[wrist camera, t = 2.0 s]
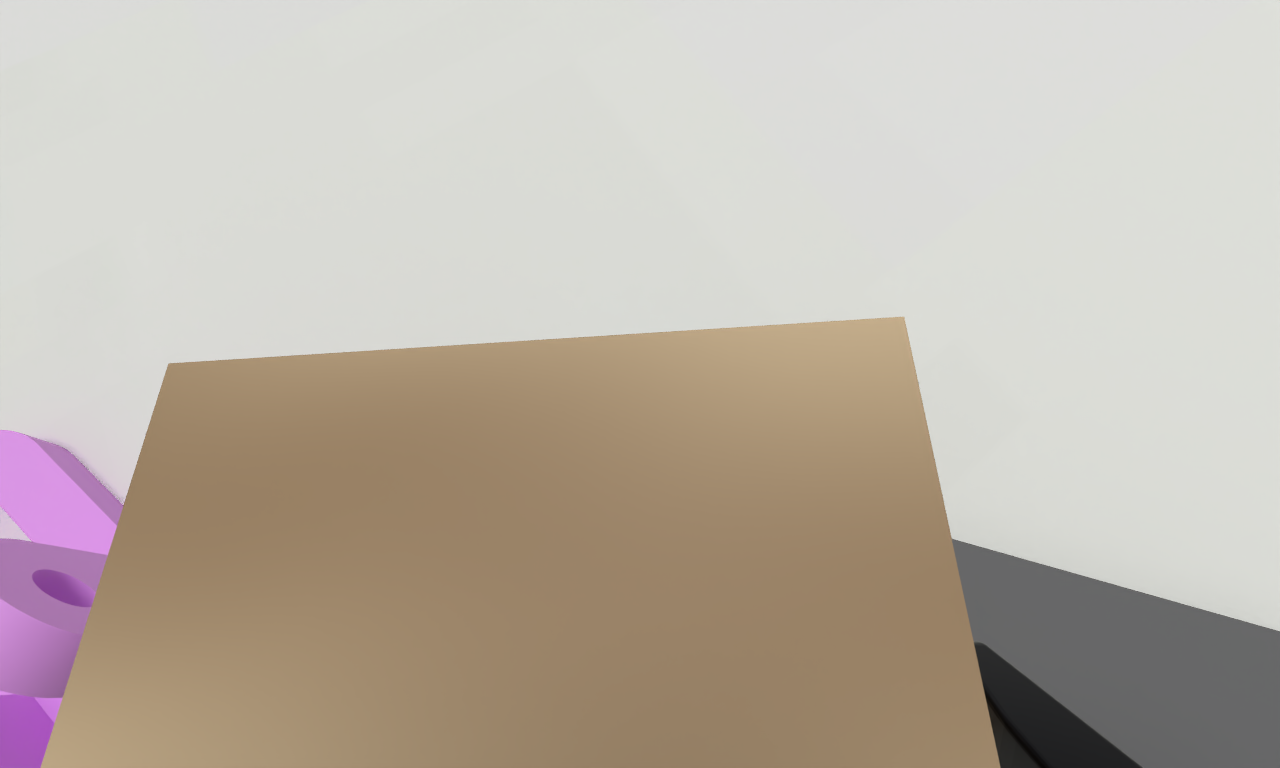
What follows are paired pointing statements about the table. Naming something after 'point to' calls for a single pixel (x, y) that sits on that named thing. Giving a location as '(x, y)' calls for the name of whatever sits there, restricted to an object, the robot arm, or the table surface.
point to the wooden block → (536, 563)
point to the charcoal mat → (1132, 661)
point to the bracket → (45, 584)
